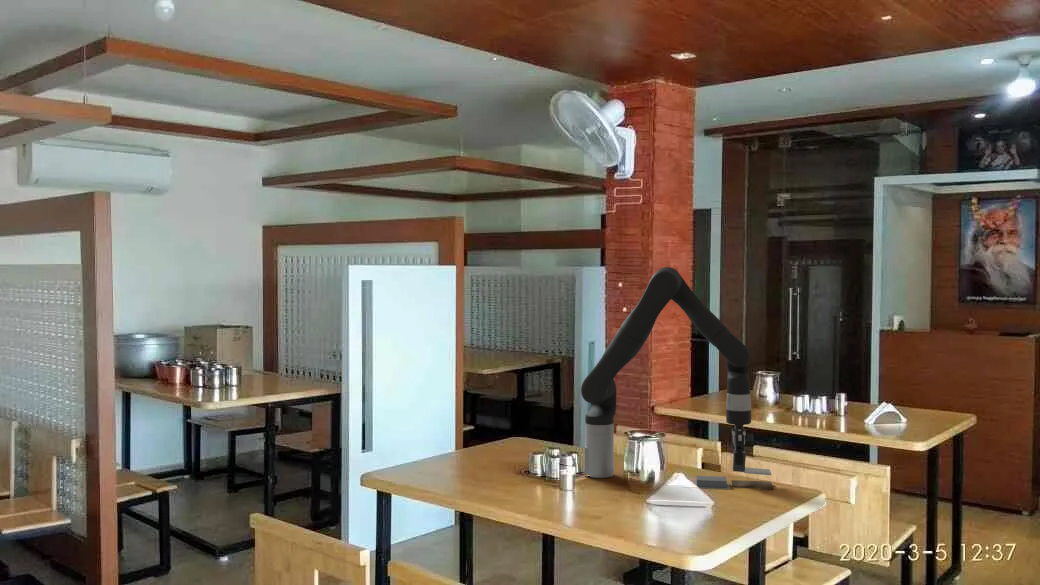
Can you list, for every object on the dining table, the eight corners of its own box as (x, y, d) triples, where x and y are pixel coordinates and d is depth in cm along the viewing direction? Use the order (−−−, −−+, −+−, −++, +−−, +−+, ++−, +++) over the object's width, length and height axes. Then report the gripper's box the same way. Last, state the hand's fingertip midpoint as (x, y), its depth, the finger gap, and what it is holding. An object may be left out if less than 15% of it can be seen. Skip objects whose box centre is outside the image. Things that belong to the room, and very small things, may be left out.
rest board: (732, 488, 274) (732, 485, 273) (731, 483, 280) (731, 480, 280) (773, 490, 271) (773, 486, 271) (770, 484, 278) (770, 481, 278)
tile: (696, 480, 274) (726, 481, 272) (696, 475, 280) (725, 476, 278) (696, 487, 274) (726, 488, 272) (696, 482, 280) (725, 483, 278)
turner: (732, 468, 280) (733, 449, 279) (769, 471, 278) (770, 452, 277) (733, 472, 274) (734, 452, 274) (771, 475, 272) (772, 455, 272)
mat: (683, 488, 274) (683, 487, 274) (683, 482, 282) (683, 481, 282) (729, 490, 271) (729, 489, 271) (728, 484, 279) (728, 483, 279)
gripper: (752, 411, 268) (753, 468, 269) (749, 405, 282) (749, 459, 283) (727, 411, 270) (727, 468, 270) (725, 404, 284) (725, 458, 284)
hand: (738, 463), depth 276 cm, fingers closed on turner, 3 cm apart
